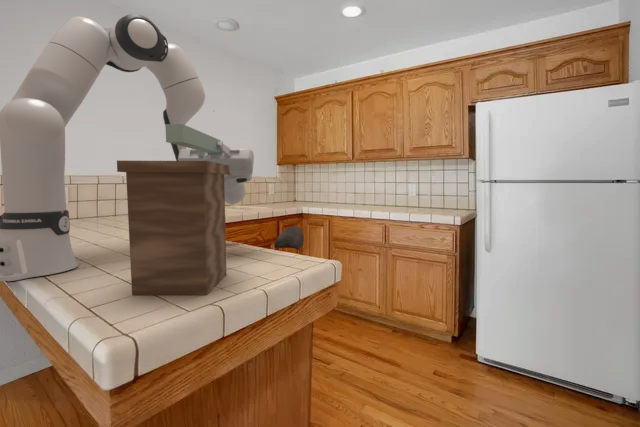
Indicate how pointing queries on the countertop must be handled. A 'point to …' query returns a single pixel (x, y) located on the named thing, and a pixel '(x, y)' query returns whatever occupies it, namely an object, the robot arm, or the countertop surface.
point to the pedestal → (176, 226)
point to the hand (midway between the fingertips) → (209, 143)
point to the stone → (290, 238)
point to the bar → (190, 138)
